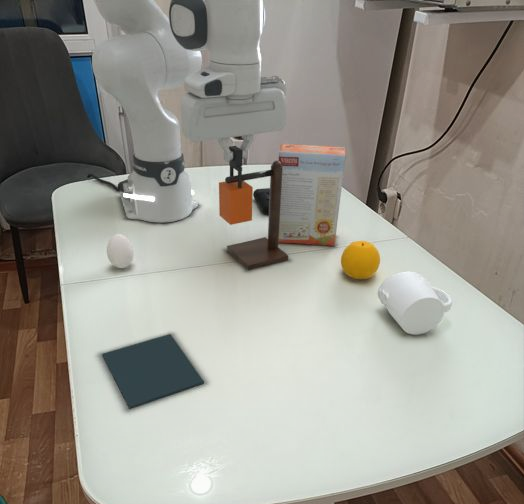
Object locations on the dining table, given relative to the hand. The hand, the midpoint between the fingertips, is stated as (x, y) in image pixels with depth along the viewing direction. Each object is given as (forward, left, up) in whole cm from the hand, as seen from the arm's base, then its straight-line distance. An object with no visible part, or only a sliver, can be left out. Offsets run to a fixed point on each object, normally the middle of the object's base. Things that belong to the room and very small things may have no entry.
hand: (235, 159), depth 98 cm
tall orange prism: (0, 0, -12) cm, 12 cm away
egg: (-8, -23, -22) cm, 32 cm away
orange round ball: (+17, +20, -22) cm, 34 cm away
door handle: (-19, +28, -22) cm, 40 cm away
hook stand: (0, +4, -22) cm, 22 cm away
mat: (+26, -29, -22) cm, 44 cm away
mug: (+35, +19, -22) cm, 46 cm away
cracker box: (-2, +19, -22) cm, 29 cm away
